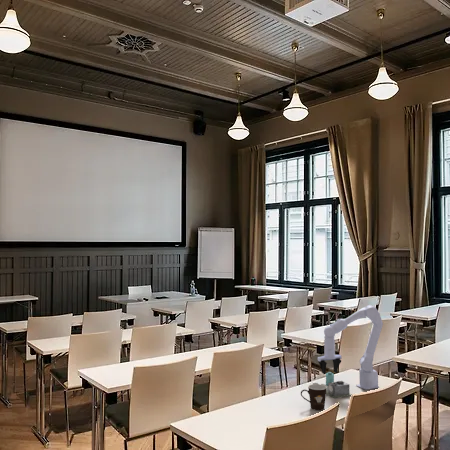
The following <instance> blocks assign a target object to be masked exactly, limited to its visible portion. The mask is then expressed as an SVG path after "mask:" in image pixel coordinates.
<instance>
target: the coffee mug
mask: <svg viewBox="0 0 450 450" xmlns="http://www.w3.org/2000/svg"><path fill="white" fill-rule="evenodd" d="M324 385H325V384H324ZM324 385H321V384H319V383H318V384H313V383H312V384H309V385H307V387H308V389H302V390H301V391H300V396H301V397H302V398H303V399H304V400H306V401H307V402H309V405H310V409H311V410H314V411H323V410H325V407H326V397H327V396H326V395H327V394H326V388H327V387H326V386H327V385H326V386H324ZM303 392H307V393H308V395H309V399H308V398H306V397H305V396H303Z"/></svg>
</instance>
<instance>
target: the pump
mask: <svg viewBox="0 0 450 450" xmlns="http://www.w3.org/2000/svg"><path fill="white" fill-rule="evenodd" d="M332 382H335V373H333V372H331V371H328V372H326V374H325V385H326V386H328V383H332Z"/></svg>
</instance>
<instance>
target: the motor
mask: <svg viewBox="0 0 450 450" xmlns="http://www.w3.org/2000/svg"><path fill="white" fill-rule="evenodd" d="M320 385H324V386H326V387H327V388H326V395H327V396H329V397H331V398H333V399H338V398H345V397H351V395H352V396H353V394H352V393H351V392H350V384H349V383H348V382H345V381H343V380H338V381H337V380H336V381H334V382H332V383H328V386H327V385H326V384H324V383H321V384H320Z"/></svg>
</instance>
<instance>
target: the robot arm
mask: <svg viewBox="0 0 450 450" xmlns="http://www.w3.org/2000/svg"><path fill="white" fill-rule="evenodd" d="M367 318H368V319H369V320H370V322H372V323H371V324H372V327H371V331H370V334H369V337H368V339H367V340H368V341H367V345H366V347H365V351H364V352H363V354H362V357H360V359H359V364H360V368H359V383H358V384H356V387H358V388H360V389H363V390H367V391H368V390H374V389H379V388H380V386H379V374H378V371H377V370H375V369H374V365H373V362H374V355H375V352H376V350H377V349H376V348H377V347H378V346H377V345H378V341H379V339H380V335H381V332H382V329H383V325H384V322H383V319H382V316H381V313H380V312H379V310H378V309H377V307H375V305H372V304H368V305H366V306H363V307H362V308H360V309H358V310H357V311H355V312H353V313H352V314H351V315H349V316H348V317H346V318H337V319H336V321H334V322H333V323H330V324H329V325H327V326H326V327H324V330H323V333H324V340H323V343H324V344H323V347H324V348H323V349H324V350H323V351H324V353H323V355H322V356H317V361H318V365H319V366H320V369H321V374H323V375H326V373H327V371H326V370H327V369H326V368H327V364H328V363H327V362H326V361H331V360H332V365H333V372H334V374H335V373H336V374H338V370H339V367H340V364H341V363H342V357H343V356H342V355H341V354H336V340H335V336H336V334H339V333H341V332H342V331H344V330H345V329H347V328H348V325H350V324H351V323H354V322H355V321H357V320H359V319H367Z"/></svg>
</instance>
